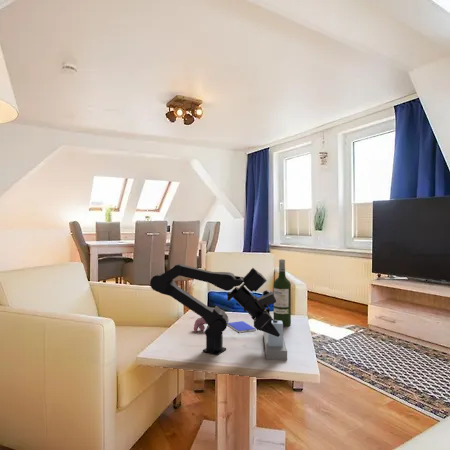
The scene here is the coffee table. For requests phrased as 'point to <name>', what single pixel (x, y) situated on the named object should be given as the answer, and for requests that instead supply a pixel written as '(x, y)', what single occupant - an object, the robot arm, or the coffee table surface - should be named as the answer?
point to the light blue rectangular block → (274, 339)
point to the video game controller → (199, 324)
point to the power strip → (275, 350)
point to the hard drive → (241, 326)
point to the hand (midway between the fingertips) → (278, 331)
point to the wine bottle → (282, 296)
